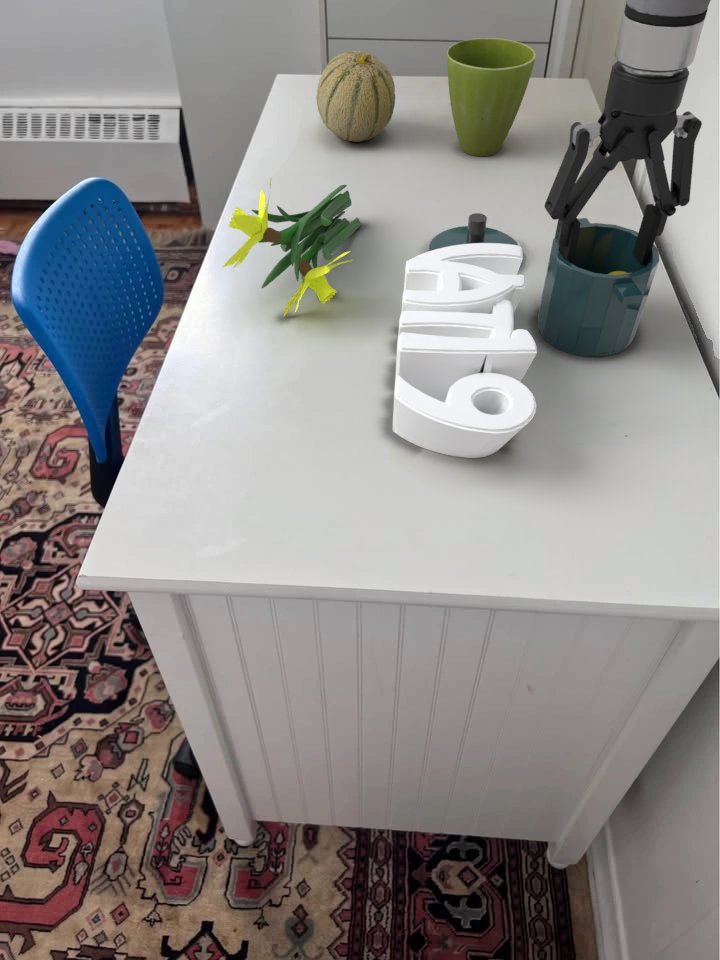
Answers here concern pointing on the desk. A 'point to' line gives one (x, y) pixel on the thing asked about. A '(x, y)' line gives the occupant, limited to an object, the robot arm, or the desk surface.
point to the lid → (470, 234)
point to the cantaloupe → (356, 96)
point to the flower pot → (487, 90)
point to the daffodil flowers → (310, 227)
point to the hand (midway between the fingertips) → (601, 263)
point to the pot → (595, 292)
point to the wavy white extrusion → (462, 351)
